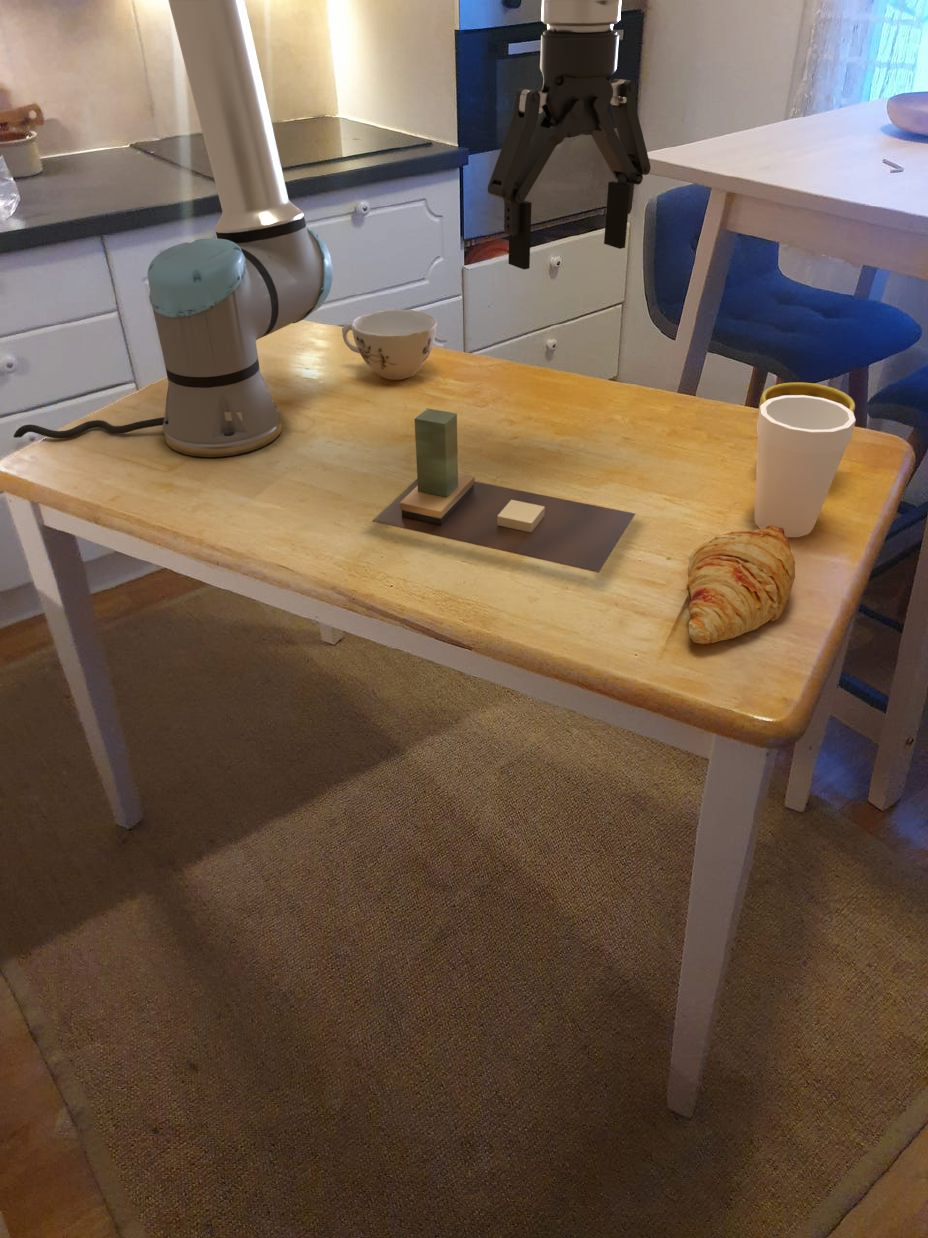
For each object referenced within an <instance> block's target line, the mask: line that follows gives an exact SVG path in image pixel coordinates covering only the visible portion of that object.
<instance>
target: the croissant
mask: <svg viewBox="0 0 928 1238" xmlns="http://www.w3.org/2000/svg"><path fill="white" fill-rule="evenodd" d="M687 571H688V574H689V577H688V580H687V582H686V586H685V587H686V589H688V594H689V597H690V600H689V603H688V606H687V609H688V614H689V617H690V620H689V622H688V631H689V632H688V636H689V638H690V639H691V640H692V642H693V643H697V644H700V645H704V644H707V645H708V644H714V643H716V642H721V641H726V640H731V639H734V638H736V637H740V636H741V635H743V634H745V633H749V632H751V631H755V630H757V629H759V628H760V627H761V626H763V625H764V624H766V623H767V622H769V621H772V622H773V621H775V620H777V619H779V618H780V617H781V616H782V614H783V613H784V610H785V608H786V604H787V602H788V599H789V597H790V594H791V592H792V589H793V585H794V582H795V578H796V561H795V556H794V555H793V552H792V548H791V543H790V541H789V540H788V537H786V536H785V535H784V530H783V528H779V527H776V526H774V525H770V526H767V527H766V528H765V529H760V528H758V529H755V530H753V531H751V530H750V531H749V530H748V531H743V530H742V531H730V532H727V533H724V534H721V535H716V536H715V537H714V538H712V539H708V540H706V541H704V542H703V543H702V544H701V545H700V546H698V547H696V548H695V549H694V550H693V551H692V552H691V554H690V555H689V556H688V566H687Z"/></svg>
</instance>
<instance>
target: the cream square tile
mask: <svg viewBox="0 0 928 1238" xmlns="http://www.w3.org/2000/svg"><path fill="white" fill-rule="evenodd" d="M544 514H545V507H544V506H540V505H535V504H530V503H525V502H520V501H515V500H511V501H510V502H509V503H508V504H507V505H506V506H505V508H504V509H503V510H502V511H501V512H500V513H499V515H498V516H497V525H498V526H503V527H507V528H512V529H517V530H521V531H526V532H532V531H533V530H534V529H535V527H536V526H537V525H538V523H539V522H540V521H541V520H542V518H543V517H544Z"/></svg>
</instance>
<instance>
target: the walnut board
mask: <svg viewBox="0 0 928 1238" xmlns="http://www.w3.org/2000/svg"><path fill="white" fill-rule="evenodd" d="M417 486H418V483H417V478H416V479H415V480H413V482H412V483H411V484H410V485H408V486H407V487H406V488H405V489H404V490H403V491H402V492H401V493H400V494H399V495H398V496H397V497H396V498H395V499H394V500H392V501H391V503H389V504H388V505H387V506H386V507H385V508H384V509H383V510H382V511H381V512H380V513H379V514H378V515H377V516H375V518H373V519H372V521H371V522H373V523H377V524H382V525H386V526H391V527H396V528H399V529H404V530H409V531H413V532H417V533H422V534H426V535H430V536H434V537H435V536H436V537H439V538H445V539H448V540H453V541H457V542H462V543H465V544H470V545H476V546H479V547H484V548H488V549H493V550H496V551H502V552H506V553H511V554H515V555H519V556H524V557H528V558H533V559H537V560H541V561H546V562H551V563H555V564H559V565H563V566H568V567H572V568H575V569H576V568H577V569H581V570H585V571H589V572H595V573H600V571H601V570H602V569H603V567H604V566H605V564H606V562H607V560H608V559H609V558H610V556H611V554H612V552H613V551H614V549H615V548H616V546H617V544H618V543H619V541H620V540H621V538H622V537H623V535H624V534H625V532H626V530H627V529H628V527H629V525H630V524H631V522H632V520H633V519H634V517H635V515H636V513H634V512H629V511H625V510H620V509H615V508H609V507H605V506H599V505H594V504H590V503H584V502H581V501H580V502H579V501H575V500H571V499H564V498H561V497H556V496H555V497H554V496H549V495H545V494H540V493H535V492H531V491H524V490H521V489H520V490H519V489H515V488H511V487H506V486H500V485H495V484H489V483H485V482H480V481H476V480H475V483H474V490H473V491H472V492H471V493H470V494H469V496H468V497H467V498H466V499H465V500H464V501H463V502H462V503H461V504H460V505H459V506H458V507H457V508H456V509H455V510H454V511H453V513H452V514H451V515H450V516H449V517H448V518H447V519H446V520H445V521H444V522H443V523H442V524H441V525H438V524H433V523H429V522H424V521H420V520H415V519H411V518H406V517H402V510H400V502H401V501H402V500H403V499H404V498H405V497H406V496H407V495H408V494H409V493H410V492H411V491H413V490H414V489H415V488H416V487H417ZM511 500H515V501H520V502H525V503H530V504H535V505H540V506H544V507H545V514H544V517H543V518H542V520H541V521H540V522H539V523H538V525H537V526H536V527H535V529H534V530H533V531H532V532H526V531H521V530H517V529H512V528H507V527H503V526H498V525H497V516H498V515H499V513H500V512H501V511H502V510H503V509H504V508H505V506H506V505H507V504H508V503H509V502H510V501H511Z"/></svg>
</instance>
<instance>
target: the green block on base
mask: <svg viewBox="0 0 928 1238" xmlns="http://www.w3.org/2000/svg"><path fill="white" fill-rule="evenodd" d="M413 420H414V437H415V438H414V439H415V440H414V441H415V458H416V459H415V461H416V479H417V483H418V486H417V487H416V488H415V489H414V490H413V491H411V492H410V493H409V494H408V495H407V496H406V497H405V498H404V499H403V500H402V501H401V502H400V510H402V517H406V518H411V519H415V520H420V521H424V522H429V523H433V524H438V525H441V524H442V523H443V522H444V521H445V520H446V519H447V518H448V517H449V516H450V515H451V514H452V513H453V511H454V510H455V509H456V508H457V507H458V506H459V505H460V504H461V503H462V502H463V501H464V500H465V499H466V498H467V497H468V496H469V494H470V493H471V492H472V491H473V490H474V483H475V481H476V476H475V475H471V474H466V473H463V472H462V473H461V472H459V459H458V458H459V457H458V456H459V455H458V454H459V453H458V452H459V451H458V414H457V413H455V412H450V411H445V410H439V409H433V408H425V409H424V410H422V412H420V414H418V415H417V416H416V417H414V419H413Z"/></svg>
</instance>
